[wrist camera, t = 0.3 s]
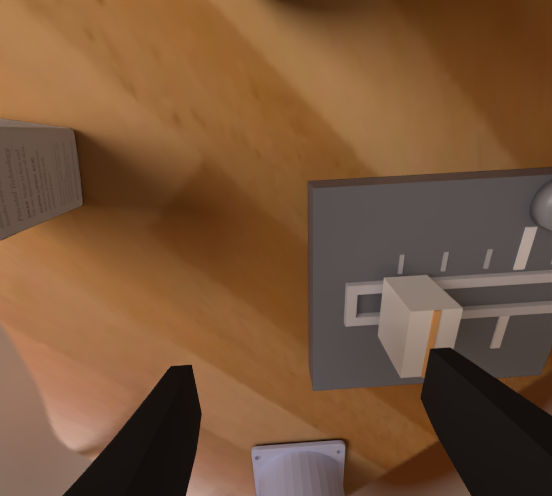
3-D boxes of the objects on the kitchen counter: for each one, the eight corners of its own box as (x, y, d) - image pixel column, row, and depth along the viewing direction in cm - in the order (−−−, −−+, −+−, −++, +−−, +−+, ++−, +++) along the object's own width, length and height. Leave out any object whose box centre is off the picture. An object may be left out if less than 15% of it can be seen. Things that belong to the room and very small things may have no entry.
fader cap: (413, 328, 18) (448, 376, 15) (375, 331, 18) (401, 379, 15) (423, 271, 17) (464, 309, 13) (381, 274, 17) (411, 312, 13)
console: (519, 354, 22) (556, 387, 20) (308, 368, 22) (315, 404, 19) (585, 165, 17) (650, 173, 14) (307, 181, 17) (316, 192, 14)
